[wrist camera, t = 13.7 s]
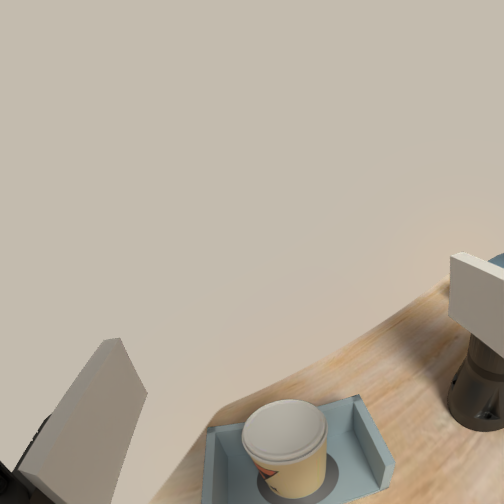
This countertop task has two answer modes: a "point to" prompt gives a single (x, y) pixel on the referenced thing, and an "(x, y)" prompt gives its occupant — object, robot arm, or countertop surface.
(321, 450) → the coffee cup
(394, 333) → the countertop surface
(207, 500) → the walled barrier
